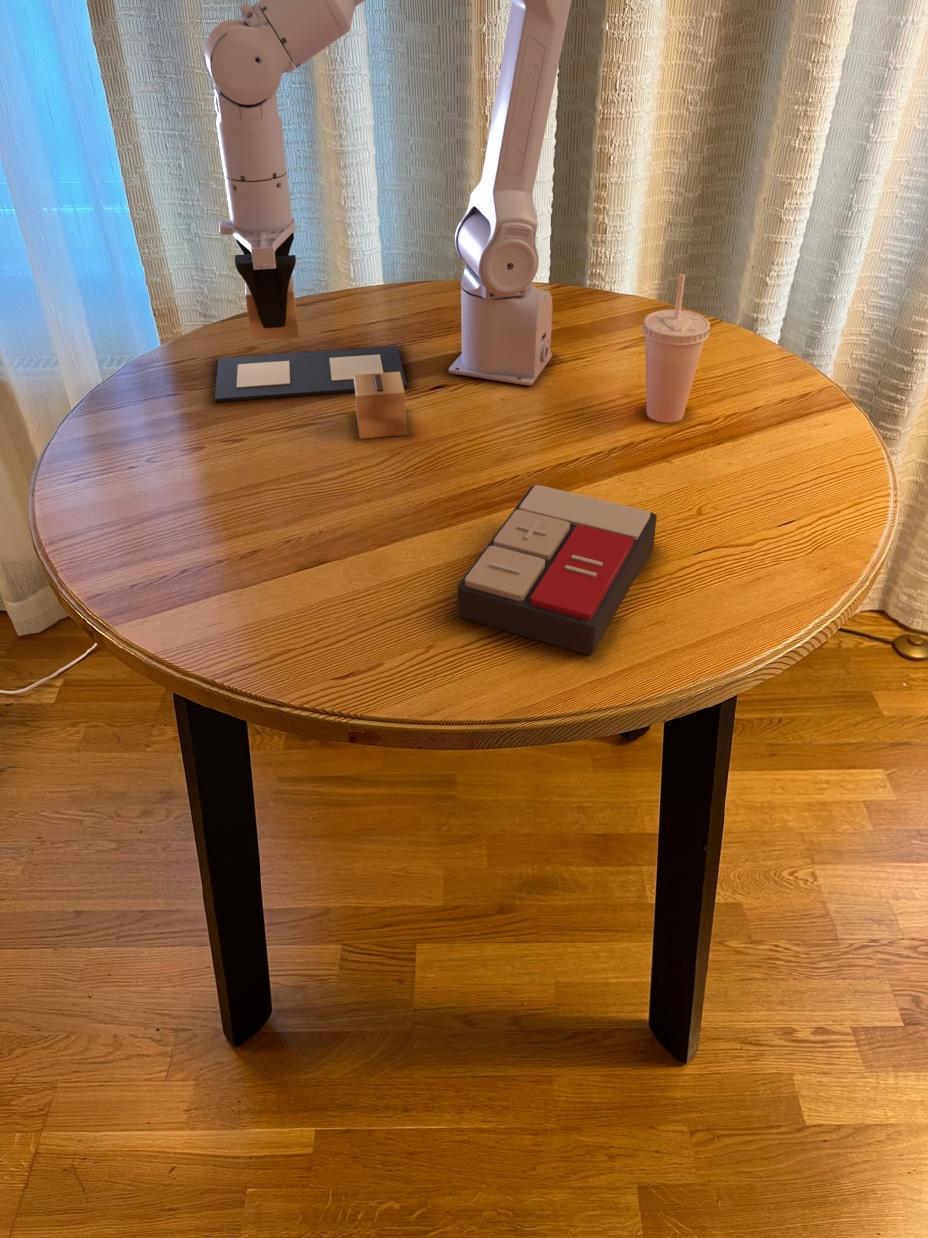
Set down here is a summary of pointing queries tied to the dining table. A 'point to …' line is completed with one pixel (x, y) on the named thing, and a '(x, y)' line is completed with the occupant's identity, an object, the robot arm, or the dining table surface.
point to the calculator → (558, 568)
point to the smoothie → (672, 358)
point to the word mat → (301, 373)
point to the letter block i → (380, 405)
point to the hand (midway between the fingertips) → (273, 315)
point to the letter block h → (273, 333)
